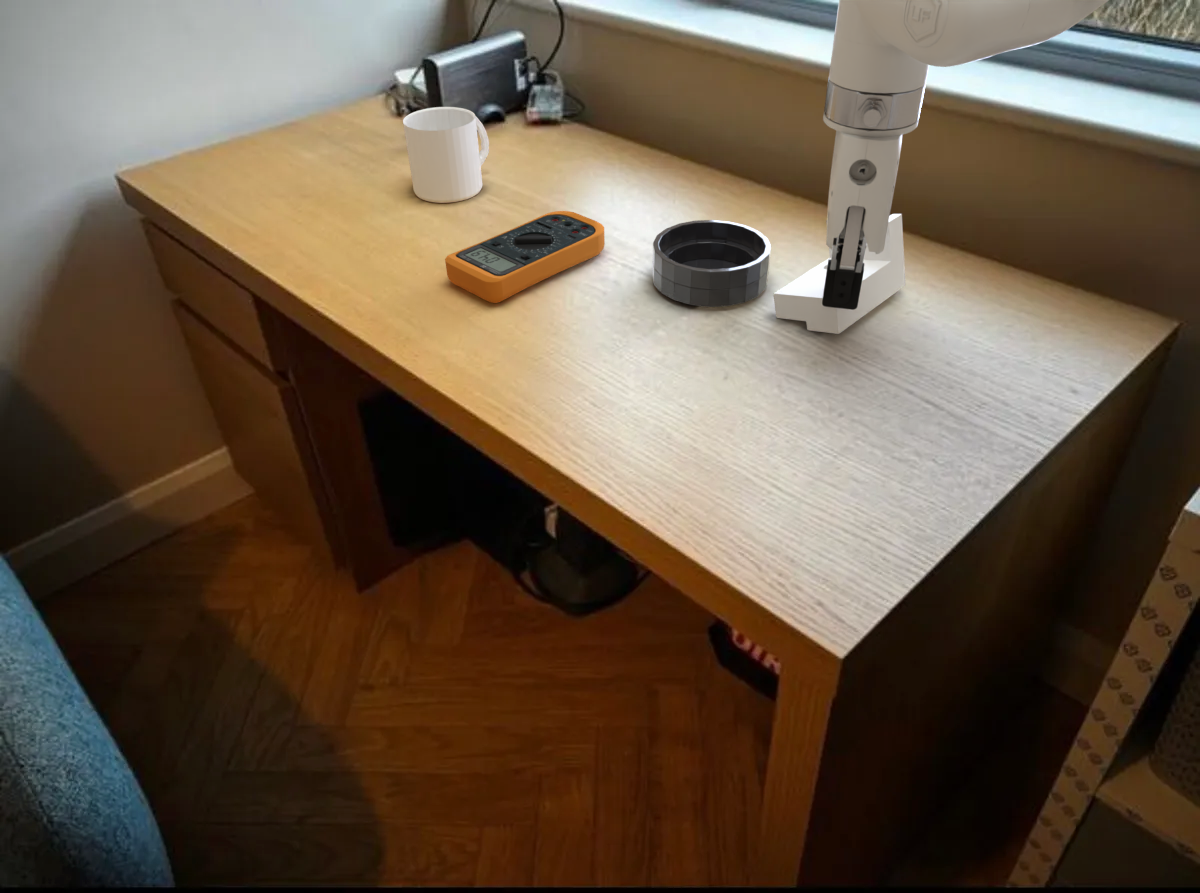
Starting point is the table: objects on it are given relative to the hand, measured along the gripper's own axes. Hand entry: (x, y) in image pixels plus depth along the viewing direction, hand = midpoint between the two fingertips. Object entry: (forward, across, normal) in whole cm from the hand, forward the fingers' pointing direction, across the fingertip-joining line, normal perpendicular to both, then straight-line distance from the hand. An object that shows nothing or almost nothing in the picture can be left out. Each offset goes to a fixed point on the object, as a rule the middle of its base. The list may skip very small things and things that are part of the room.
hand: (839, 303), depth 84 cm
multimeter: (+5, +9, +34) cm, 35 cm away
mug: (+5, +29, +50) cm, 58 cm away
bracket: (+5, +8, 0) cm, 10 cm away
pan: (+4, +10, +14) cm, 17 cm away
